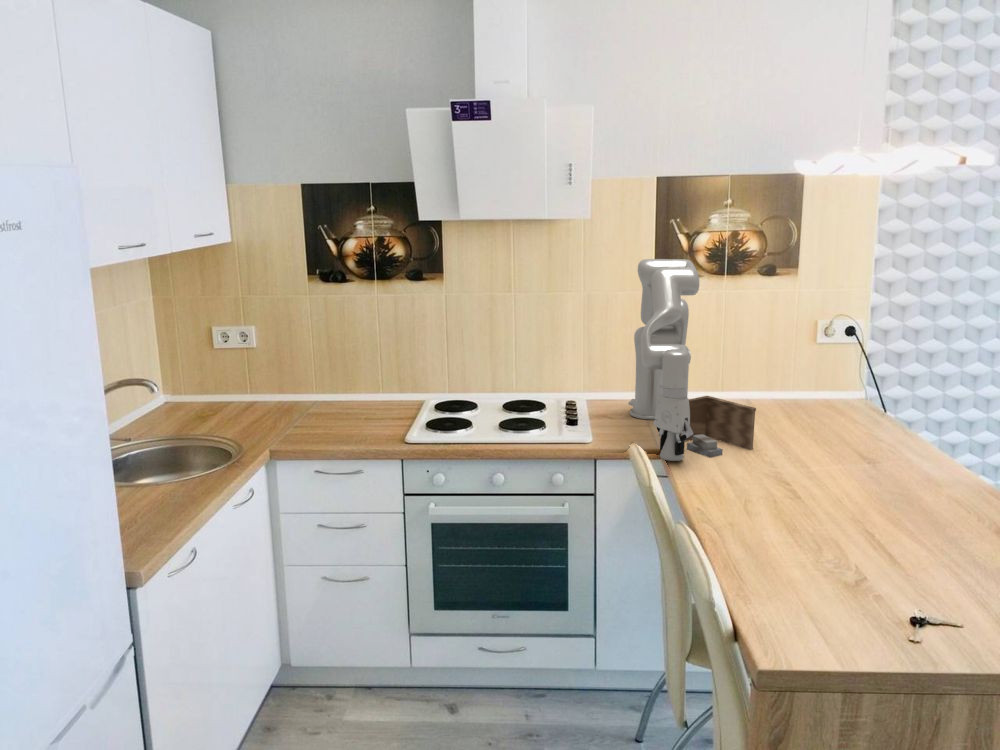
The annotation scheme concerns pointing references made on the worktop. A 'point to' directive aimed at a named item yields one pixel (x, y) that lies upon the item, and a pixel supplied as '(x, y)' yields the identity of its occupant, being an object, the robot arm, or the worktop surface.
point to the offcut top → (704, 442)
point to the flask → (670, 449)
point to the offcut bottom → (704, 452)
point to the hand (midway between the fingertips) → (671, 451)
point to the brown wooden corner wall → (722, 421)
